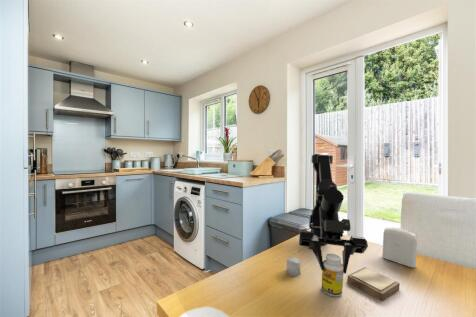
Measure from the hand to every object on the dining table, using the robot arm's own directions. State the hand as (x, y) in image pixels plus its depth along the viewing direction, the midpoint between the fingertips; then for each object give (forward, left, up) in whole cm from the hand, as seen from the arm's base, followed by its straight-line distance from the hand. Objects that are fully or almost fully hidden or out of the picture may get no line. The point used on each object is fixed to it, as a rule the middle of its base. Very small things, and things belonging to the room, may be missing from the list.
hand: (333, 271), depth 62 cm
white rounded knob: (-13, -1, -7) cm, 15 cm away
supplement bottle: (-1, +1, -7) cm, 7 cm away
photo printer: (+1, +39, -7) cm, 39 cm away
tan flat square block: (+4, +15, -7) cm, 16 cm away
